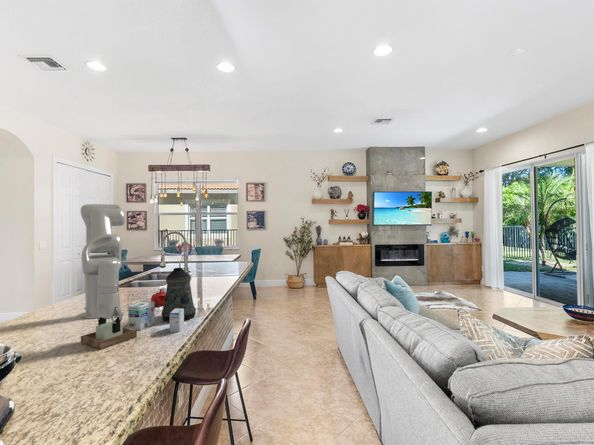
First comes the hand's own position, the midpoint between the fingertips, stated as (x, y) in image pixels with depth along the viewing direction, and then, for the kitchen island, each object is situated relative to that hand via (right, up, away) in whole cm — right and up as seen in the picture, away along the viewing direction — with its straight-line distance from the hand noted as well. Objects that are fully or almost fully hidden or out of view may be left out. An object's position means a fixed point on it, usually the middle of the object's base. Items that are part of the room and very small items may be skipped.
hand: (109, 330), depth 140 cm
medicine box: (+24, -4, +13) cm, 27 cm away
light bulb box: (+6, -4, +18) cm, 19 cm away
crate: (0, -4, 0) cm, 4 cm away
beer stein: (+17, -4, +32) cm, 36 cm away
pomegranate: (-2, -3, +56) cm, 56 cm away
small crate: (0, -4, 0) cm, 4 cm away
